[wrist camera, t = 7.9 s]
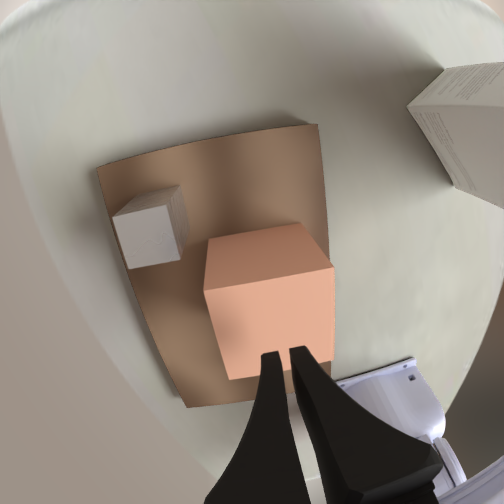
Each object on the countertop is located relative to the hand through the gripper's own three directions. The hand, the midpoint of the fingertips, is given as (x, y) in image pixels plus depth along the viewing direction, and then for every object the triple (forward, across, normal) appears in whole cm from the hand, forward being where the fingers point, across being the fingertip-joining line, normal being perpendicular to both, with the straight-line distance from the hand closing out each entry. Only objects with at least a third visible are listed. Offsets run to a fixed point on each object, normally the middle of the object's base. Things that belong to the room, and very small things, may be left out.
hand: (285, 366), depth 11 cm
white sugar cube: (+8, +5, -5) cm, 11 cm away
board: (+10, +2, +2) cm, 10 cm away
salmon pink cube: (+8, 0, 0) cm, 8 cm away
